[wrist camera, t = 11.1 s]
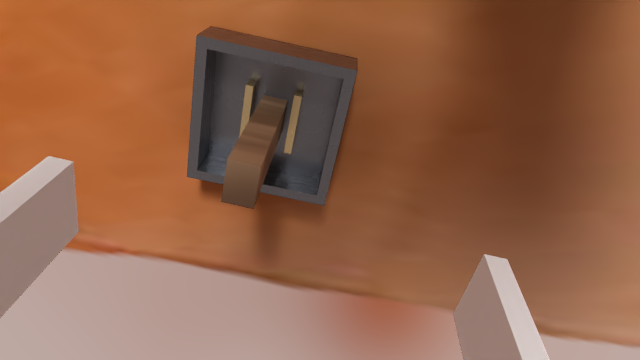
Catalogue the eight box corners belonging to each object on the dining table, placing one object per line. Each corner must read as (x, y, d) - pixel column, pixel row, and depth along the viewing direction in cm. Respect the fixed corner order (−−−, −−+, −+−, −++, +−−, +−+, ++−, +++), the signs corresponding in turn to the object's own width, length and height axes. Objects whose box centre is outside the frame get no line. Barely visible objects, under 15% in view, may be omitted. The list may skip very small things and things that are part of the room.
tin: (210, 26, 35) (196, 35, 32) (357, 58, 36) (357, 70, 32) (200, 158, 41) (186, 176, 37) (326, 184, 41) (324, 205, 38)
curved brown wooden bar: (263, 94, 37) (227, 158, 26) (287, 100, 37) (261, 166, 26) (258, 128, 38) (221, 201, 28) (281, 133, 38) (253, 208, 28)
